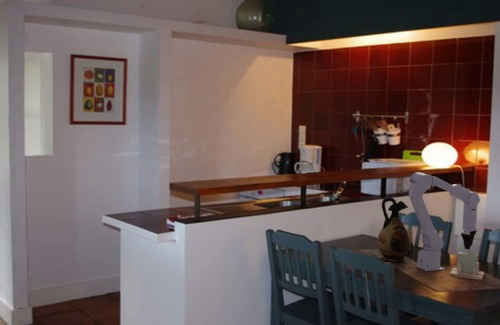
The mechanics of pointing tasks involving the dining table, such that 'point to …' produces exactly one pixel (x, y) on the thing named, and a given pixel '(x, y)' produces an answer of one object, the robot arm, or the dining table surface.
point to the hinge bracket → (473, 275)
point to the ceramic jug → (393, 233)
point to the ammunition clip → (411, 240)
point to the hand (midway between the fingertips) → (468, 247)
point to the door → (467, 261)
